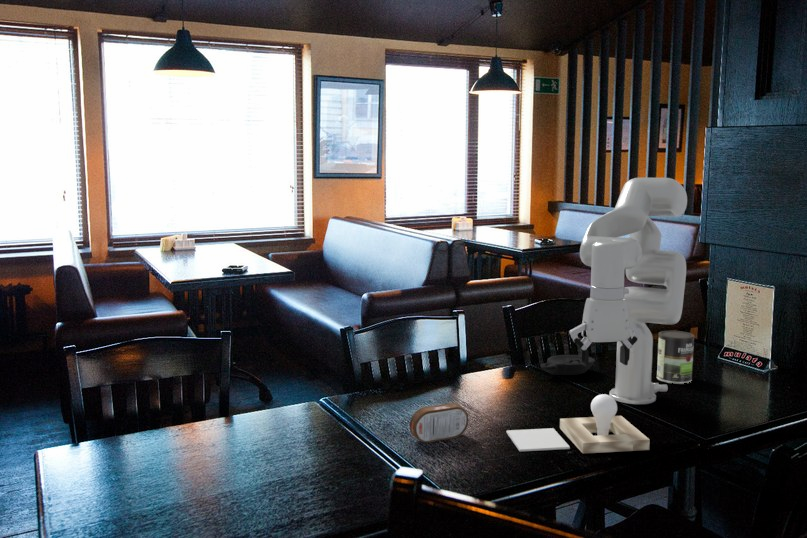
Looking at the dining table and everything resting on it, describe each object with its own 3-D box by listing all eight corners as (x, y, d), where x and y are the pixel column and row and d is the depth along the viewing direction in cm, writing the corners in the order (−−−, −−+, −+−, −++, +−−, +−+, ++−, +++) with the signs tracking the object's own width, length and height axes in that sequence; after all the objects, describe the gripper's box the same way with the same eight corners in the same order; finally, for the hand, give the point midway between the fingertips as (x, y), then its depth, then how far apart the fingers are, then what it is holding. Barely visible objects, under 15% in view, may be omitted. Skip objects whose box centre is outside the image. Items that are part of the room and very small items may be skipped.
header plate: (620, 425, 186) (621, 415, 186) (649, 449, 170) (649, 439, 170) (559, 428, 184) (560, 418, 184) (582, 453, 168) (583, 443, 168)
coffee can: (699, 381, 222) (702, 335, 220) (675, 386, 217) (677, 339, 215) (673, 372, 231) (675, 328, 229) (649, 377, 226) (651, 332, 224)
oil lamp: (525, 373, 231) (525, 358, 230) (569, 363, 242) (570, 348, 241) (559, 385, 219) (560, 369, 218) (604, 374, 230) (605, 359, 229)
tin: (464, 432, 182) (464, 399, 181) (470, 436, 179) (470, 403, 178) (408, 442, 176) (408, 408, 175) (414, 446, 173) (414, 412, 172)
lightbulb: (613, 434, 180) (615, 391, 178) (618, 443, 174) (619, 399, 172) (587, 433, 181) (589, 390, 179) (591, 443, 175) (593, 398, 173)
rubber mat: (553, 430, 183) (553, 428, 183) (569, 448, 171) (569, 446, 171) (506, 432, 182) (506, 430, 181) (519, 451, 170) (519, 449, 170)
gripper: (635, 290, 177) (632, 359, 179) (565, 291, 175) (563, 361, 177) (649, 295, 169) (645, 367, 172) (576, 297, 167) (574, 370, 170)
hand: (604, 364), depth 175 cm, fingers open, 9 cm apart
